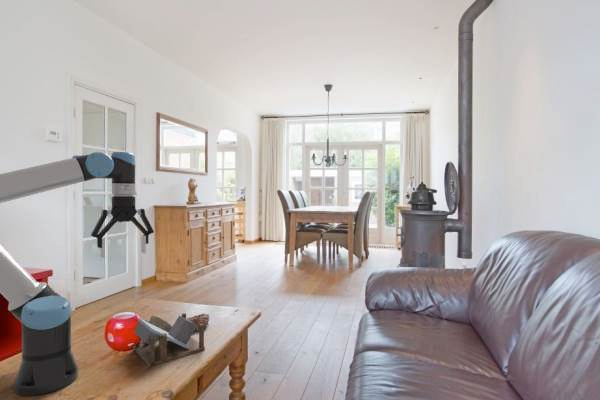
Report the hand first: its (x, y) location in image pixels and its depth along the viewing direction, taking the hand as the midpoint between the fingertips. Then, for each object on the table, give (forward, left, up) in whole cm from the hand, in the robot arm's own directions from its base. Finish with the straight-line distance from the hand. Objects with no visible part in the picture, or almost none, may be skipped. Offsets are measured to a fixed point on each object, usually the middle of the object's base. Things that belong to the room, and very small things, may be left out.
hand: (123, 255), depth 129 cm
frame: (+11, -14, -33) cm, 37 cm away
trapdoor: (+7, -14, -30) cm, 34 cm away
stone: (+14, +2, -33) cm, 36 cm away
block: (+14, -15, -29) cm, 35 cm away
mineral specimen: (+27, -2, -33) cm, 42 cm away
